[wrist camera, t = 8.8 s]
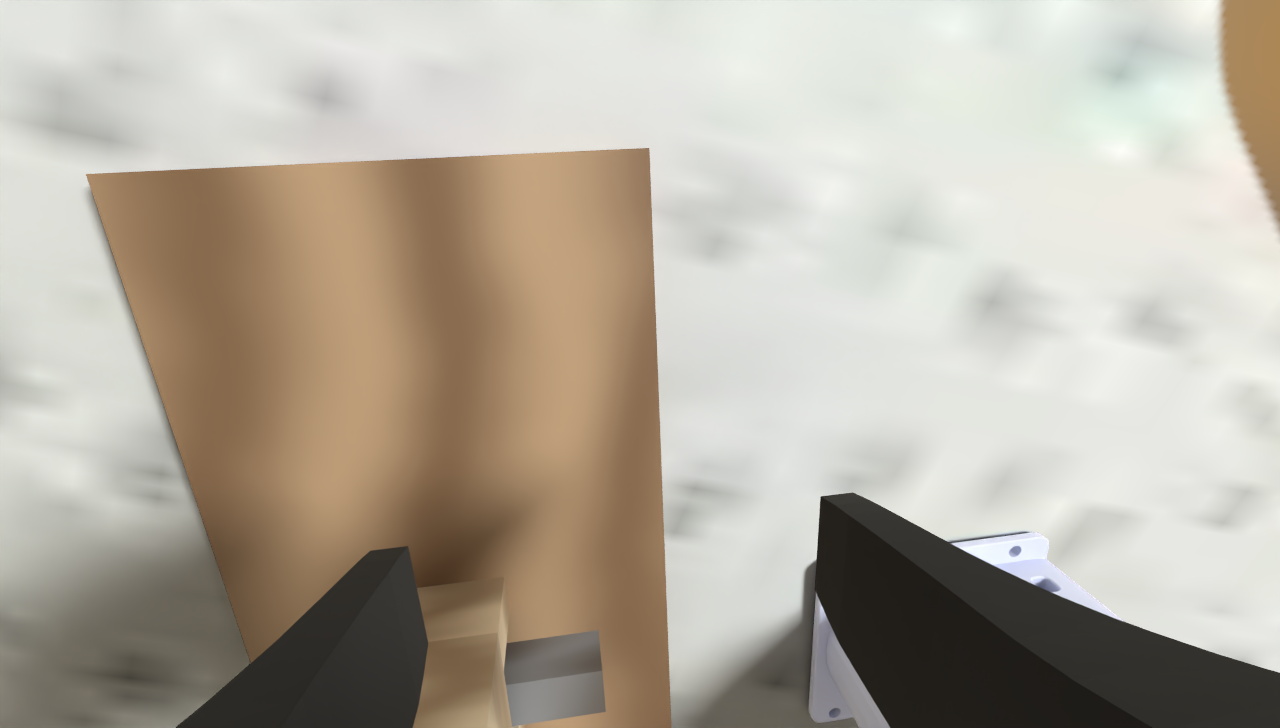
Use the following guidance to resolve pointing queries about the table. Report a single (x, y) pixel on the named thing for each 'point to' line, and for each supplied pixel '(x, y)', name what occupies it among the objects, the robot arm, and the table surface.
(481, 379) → the board
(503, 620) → the slotted block
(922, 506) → the table surface
